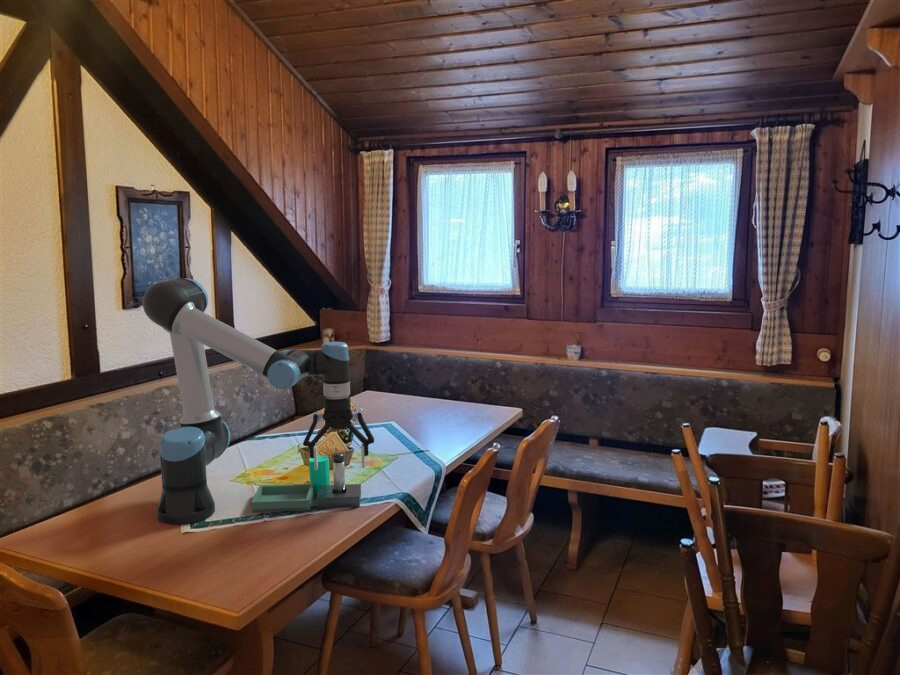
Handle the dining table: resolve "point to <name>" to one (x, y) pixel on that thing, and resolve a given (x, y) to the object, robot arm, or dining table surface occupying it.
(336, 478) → the pin
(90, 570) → the dining table surface
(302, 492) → the tray
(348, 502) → the block
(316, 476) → the candle
